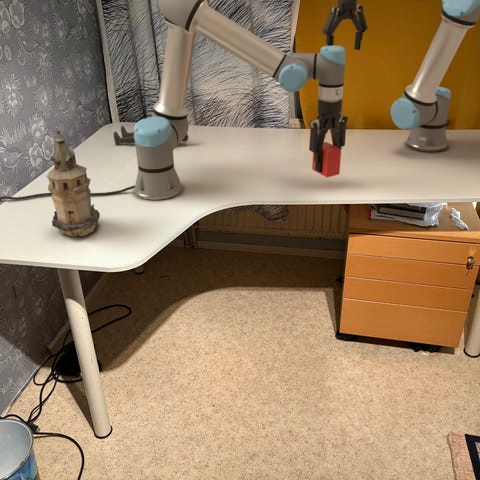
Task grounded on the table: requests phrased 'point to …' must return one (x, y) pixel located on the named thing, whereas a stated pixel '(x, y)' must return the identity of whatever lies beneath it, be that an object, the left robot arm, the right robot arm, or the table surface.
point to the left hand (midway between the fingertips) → (325, 169)
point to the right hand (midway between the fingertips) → (343, 51)
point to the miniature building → (70, 193)
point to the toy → (130, 137)
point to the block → (329, 160)
